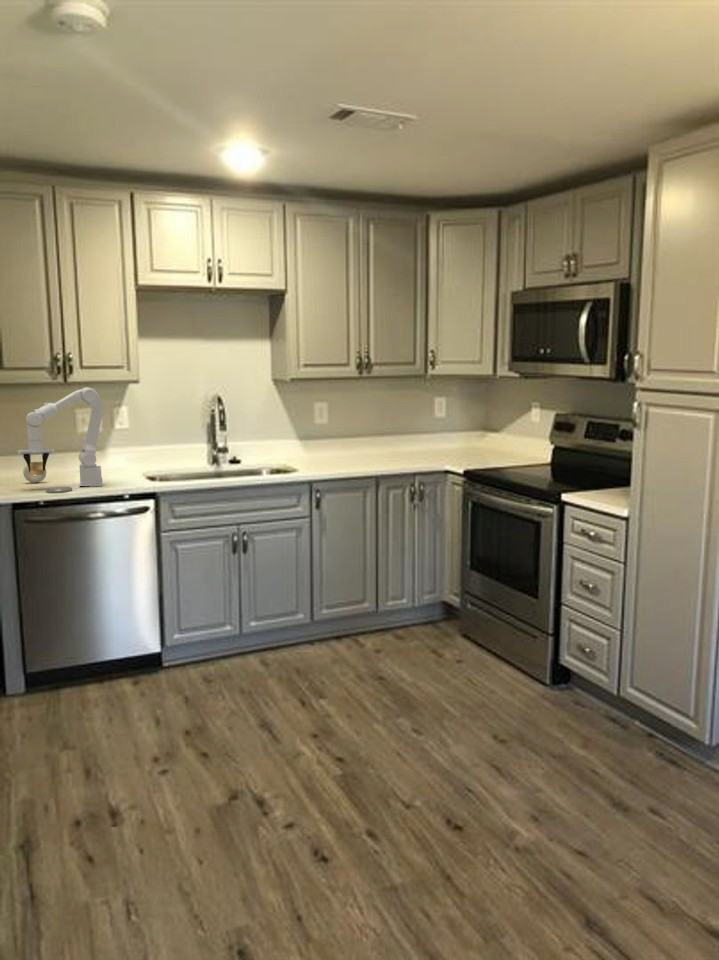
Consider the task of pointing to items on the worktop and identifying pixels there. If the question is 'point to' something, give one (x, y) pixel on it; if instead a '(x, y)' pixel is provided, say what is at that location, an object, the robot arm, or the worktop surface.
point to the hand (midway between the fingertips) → (37, 470)
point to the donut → (30, 477)
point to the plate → (58, 489)
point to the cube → (36, 468)
